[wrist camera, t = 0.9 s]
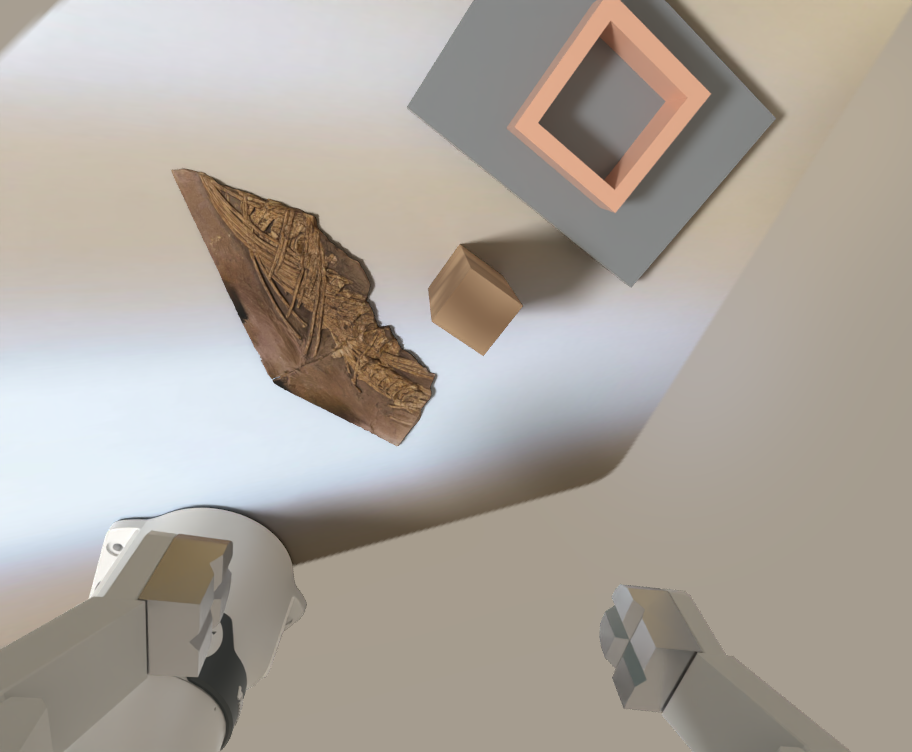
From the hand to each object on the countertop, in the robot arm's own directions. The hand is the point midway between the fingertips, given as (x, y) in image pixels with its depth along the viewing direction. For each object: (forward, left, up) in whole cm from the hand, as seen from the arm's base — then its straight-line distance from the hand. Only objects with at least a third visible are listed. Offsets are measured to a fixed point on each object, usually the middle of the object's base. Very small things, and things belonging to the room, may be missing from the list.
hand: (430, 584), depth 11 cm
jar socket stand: (+15, -3, -30) cm, 34 cm away
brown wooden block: (+1, -3, -30) cm, 30 cm away
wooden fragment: (-8, +5, -31) cm, 32 cm away
